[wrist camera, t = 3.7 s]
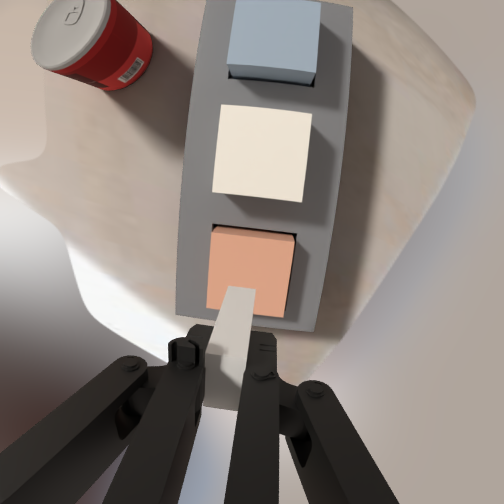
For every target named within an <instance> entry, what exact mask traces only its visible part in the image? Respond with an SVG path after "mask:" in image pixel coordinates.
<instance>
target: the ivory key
mask: <svg viewBox="0 0 504 504" xmlns="http://www.w3.org/2000/svg"><path fill="white" fill-rule="evenodd" d="M311 120H312V114H309V113H302V112H295V111H287V110H279V109H270V108H260V107H250V106H237V105H222V104H221V111H220V119H219V128H218V137H217V146H216V156H215V166H214V176H213V187H212V192H215V193H225V194H235V195H244V196H253V197H262V198H271V199H279V200H287V201H295V202H302V197H303V189H304V181H305V173H306V165H307V156H308V147H309V138H310V129H311Z"/></svg>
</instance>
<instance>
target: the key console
mask: <svg viewBox="0 0 504 504" xmlns="http://www.w3.org/2000/svg"><path fill="white" fill-rule="evenodd" d="M306 1H313V2H319V3H321V11H320V26H319V40H318V54H317V66H316V74H315V76H314V78H313V80H312V82H311V84H310V86H309V87H306V86H299V85H291V84H283V83H274V82H264V81H253V80H239V79H233V77H232V75H231V72H230V70H229V68H228V66H227V57H228V50H229V43H230V36H231V29H232V23H233V16H234V10H235V4H236V0H206V5H205V11H204V16H203V21H202V27H201V32H200V38H199V44H198V50H197V56H196V63H195V70H194V76H193V83H192V91H191V98H190V106H189V114H188V123H187V131H186V141H185V150H184V161H183V172H182V184H181V196H180V211H179V227H178V246H177V270H176V313H175V315H181V316H187V317H193V318H200V319H207V320H214V321H216V320H217V317H218V314H219V311H220V310H218V309H211V308H206V304H207V287H208V272H209V258H210V245H211V232H212V231H213V230H214V229H215V228H216V227H217V226H218V225H219V224H222V225H231V226H240V227H248V228H257V229H265V230H274V231H282V232H290V233H292V235H293V238H294V242H295V243H294V250H293V257H292V264H291V271H290V277H289V284H288V290H287V297H286V303H285V309H284V315H283V317H274V316H265V315H257V314H253V318H252V326H260V327H268V328H277V329H287V330H297V331H307V332H314V328H315V324H316V319H317V314H318V309H319V304H320V299H321V294H322V289H323V284H324V278H325V273H326V267H327V262H328V256H329V250H330V244H331V238H332V232H333V225H334V219H335V212H336V205H337V198H338V191H339V184H340V176H341V168H342V160H343V151H344V142H345V132H346V122H347V111H348V99H349V86H350V71H351V54H352V30H353V7H349V6H344V5H339V4H334V3H328V2H323V1H316V0H306ZM221 104H222V105H237V106H250V107H260V108H270V109H279V110H287V111H295V112H302V113H309V114H312V120H311V129H310V138H309V147H308V156H307V165H306V173H305V181H304V189H303V197H302V202H295V201H287V200H279V199H271V198H262V197H253V196H244V195H235V194H225V193H215V192H212V187H213V176H214V166H215V156H216V146H217V137H218V128H219V119H220V111H221Z"/></svg>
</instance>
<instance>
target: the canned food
mask: <svg viewBox="0 0 504 504" xmlns="http://www.w3.org/2000/svg"><path fill="white" fill-rule="evenodd" d="M152 51H153V47H152V40H151V37H150V34H149V33H148V31H147V30H146V29H145V28H144V27H143V26H142V25H141V24H140V23H139V22H138V21H137V20H136V19H135V18H134V17H133V16H132V15H131V14H130V13H129V12H128V11H127V10H126V9H125V8H124V7H123V6H122V5H121V4H120V3H118V2H117V1H116V0H54V1H53V2H52V3H51V4H50V5H49V6H48V7H47V8H46V10H45V11H44V12H43V14H42V15H41V17H40V19H39V20H38V22H37V24H36V27H35V29H34V32H33V35H32V39H31V54H32V57H33V60H34V61H35V62H36V64H37V65H39V66H40V67H42V68H44V69H46V70H49V71H51V72H54V73H57V74H60V75H63V76H66V77H69V78H72V79H75V80H78V81H80V82H83V83H86V84H89V85H92V86H94V87H97V88H100V89H103V90H109V91H110V90H117V89H121V88H124V87H127V86H129V85H130V84H132V83H133V82H135V81H136V80H137V79H138V78H139V77H140V76H141V75H142V74H143V73H144V71H145V70H146V69H147V67H148V65H149V63H150V60H151V57H152Z"/></svg>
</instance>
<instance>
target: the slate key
mask: <svg viewBox="0 0 504 504" xmlns="http://www.w3.org/2000/svg"><path fill="white" fill-rule="evenodd" d="M320 11H321V3H319V2H313V1H306V0H236V4H235V10H234V16H233V23H232V29H231V36H230V43H229V50H228V57H227V66H228V68H229V70H230V72H231V75H232V77H233V79H239V80H253V81H264V82H274V83H283V84H291V85H299V86H306V87H309V86H310V84H311V82H312V80H313V78H314V76H315V74H316V66H317V54H318V40H319V26H320Z"/></svg>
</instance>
